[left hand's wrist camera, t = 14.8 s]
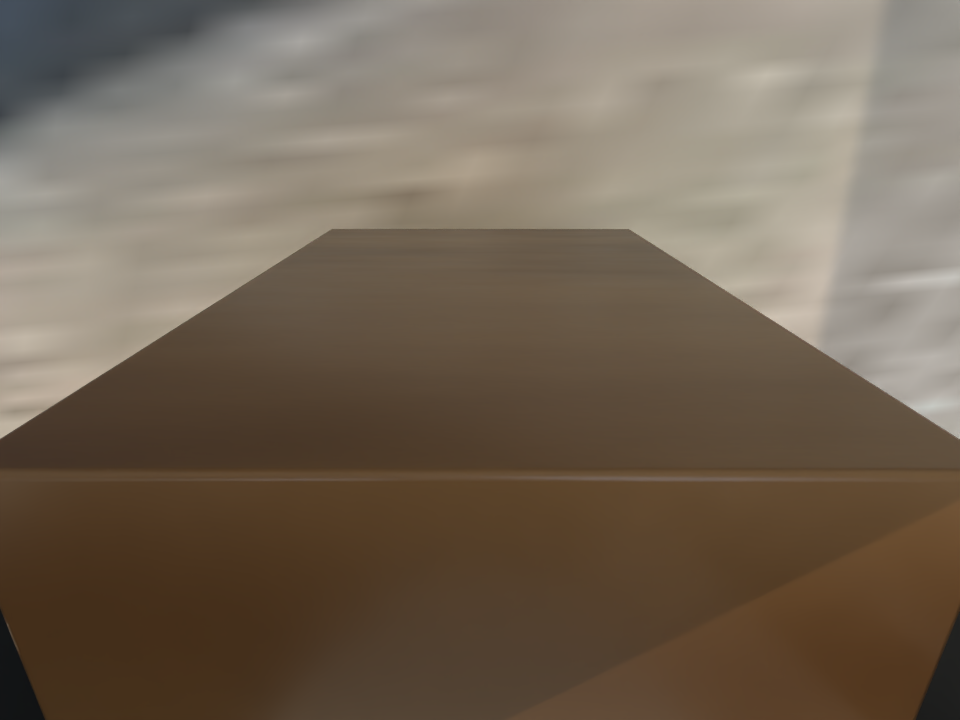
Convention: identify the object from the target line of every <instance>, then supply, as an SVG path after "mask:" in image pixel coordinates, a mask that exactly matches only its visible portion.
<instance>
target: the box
mask: <svg viewBox="0 0 960 720" xmlns="http://www.w3.org/2000/svg"><path fill="white" fill-rule="evenodd" d="M0 609H1V612H2V614H3V617H4V619H5V622H6V624H7V627H8V629H9V632H10V634H11V637H12V639H13V642H14V644H15V647H16V649H17V651H18V654H19V656H20V659H21V661H22V664H23V666H24V669H25V671H26V674H27V676H28V679H29V681H30V684H31V686H32V689H33V691H34V694H35V696H36V698H37V701H38V703H39V706H40V708H41V711H42V713H43V716H44V718H45V720H916V717H917V715H918V712H919V710H920V708H921V705H922V703H923V700H924V698H925V695H926V693H927V690H928V688H929V685H930V683H931V680H932V678H933V676H934V673H935V671H936V668H937V666H938V663H939V661H940V658H941V656H942V653H943V651H944V648H945V646H946V643H947V641H948V639H949V636H950V634H951V631H952V629H953V626H954V624H955V621H956V619H957V616H958V614H959V611H960V439H958V438H957V437H955V436H953V435H952V434H950V433H949V432H947V431H946V430H944V429H942V428H941V427H939V426H938V425H936V424H935V423H933V422H931V421H930V420H928V419H927V418H925V417H924V416H922V415H920V414H919V413H917V412H916V411H914V410H913V409H911V408H909V407H908V406H906V405H905V404H903V403H902V402H900V401H898V400H897V399H895V398H894V397H892V396H891V395H889V394H887V393H886V392H884V391H883V390H881V389H880V388H878V387H876V386H875V385H873V384H872V383H870V382H869V381H867V380H865V379H864V378H862V377H861V376H859V375H857V374H856V373H854V372H853V371H851V370H850V369H848V368H846V367H845V366H843V365H842V364H840V363H839V362H837V361H835V360H834V359H832V358H831V357H829V356H828V355H826V354H824V353H823V352H821V351H820V350H818V349H817V348H815V347H813V346H812V345H810V344H809V343H807V342H806V341H804V340H802V339H801V338H799V337H798V336H796V335H795V334H793V333H791V332H790V331H788V330H787V329H785V328H784V327H782V326H780V325H779V324H777V323H776V322H774V321H773V320H771V319H769V318H768V317H766V316H765V315H763V314H762V313H760V312H758V311H757V310H755V309H754V308H752V307H750V306H749V305H747V304H746V303H744V302H743V301H741V300H739V299H738V298H736V297H735V296H733V295H732V294H730V293H728V292H727V291H725V290H724V289H722V288H721V287H719V286H717V285H716V284H714V283H713V282H711V281H710V280H708V279H706V278H705V277H703V276H702V275H700V274H699V273H697V272H695V271H694V270H692V269H691V268H689V267H688V266H686V265H684V264H683V263H681V262H680V261H678V260H677V259H675V258H673V257H672V256H670V255H669V254H667V253H666V252H664V251H662V250H661V249H659V248H658V247H656V246H655V245H653V244H651V243H650V242H648V241H647V240H645V239H643V238H642V237H640V236H639V235H637V234H636V233H634V232H632V231H631V230H629V229H332V230H330V231H328V232H327V233H325V234H324V235H322V236H320V237H319V238H317V239H316V240H314V241H312V242H311V243H309V244H308V245H306V246H305V247H303V248H301V249H300V250H298V251H297V252H295V253H294V254H292V255H290V256H289V257H287V258H286V259H284V260H282V261H281V262H279V263H278V264H276V265H275V266H273V267H271V268H270V269H268V270H267V271H265V272H263V273H262V274H260V275H259V276H257V277H256V278H254V279H252V280H251V281H249V282H248V283H246V284H244V285H243V286H241V287H240V288H238V289H237V290H235V291H233V292H232V293H230V294H229V295H227V296H226V297H224V298H222V299H221V300H219V301H218V302H216V303H214V304H213V305H211V306H210V307H208V308H207V309H205V310H203V311H202V312H200V313H199V314H197V315H195V316H194V317H192V318H191V319H189V320H188V321H186V322H184V323H183V324H181V325H180V326H178V327H176V328H175V329H173V330H172V331H170V332H169V333H167V334H165V335H164V336H162V337H161V338H159V339H158V340H156V341H154V342H153V343H151V344H150V345H148V346H146V347H145V348H143V349H142V350H140V351H139V352H137V353H135V354H134V355H132V356H131V357H129V358H127V359H126V360H124V361H123V362H121V363H120V364H118V365H116V366H115V367H113V368H112V369H110V370H109V371H107V372H105V373H104V374H102V375H101V376H99V377H97V378H96V379H94V380H93V381H91V382H90V383H88V384H86V385H85V386H83V387H82V388H80V389H78V390H77V391H75V392H74V393H72V394H71V395H69V396H67V397H66V398H64V399H63V400H61V401H59V402H58V403H56V404H55V405H53V406H52V407H50V408H48V409H47V410H45V411H44V412H42V413H41V414H39V415H37V416H36V417H34V418H33V419H31V420H29V421H28V422H26V423H25V424H23V425H22V426H20V427H18V428H17V429H15V430H14V431H12V432H10V433H9V434H7V435H6V436H4V437H3V438H1V439H0Z"/></svg>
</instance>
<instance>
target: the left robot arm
mask: <svg viewBox="0 0 960 720" xmlns="http://www.w3.org/2000/svg"><path fill="white" fill-rule="evenodd" d="M0 720H45V718H44V716H43V713H42V711H41V708H40V706H39V703H38V701H37V698H36V696H35V694H34V691H33V689H32V686H31V684H30V681H29V679H28V676H27V674H26V671H25V669H24V666H23V664H22V661H21V659H20V656H19V654H18V651H17V649H16V647H15V644H14V642H13V639H12V637H11V634H10V632H9V629H8V627H7V624H6V622H5V619H4V617H3V614H2V612H1V609H0ZM916 720H960V611H959V614H958V616H957V619H956V621H955V624H954V626H953V629H952V631H951V634H950V636H949V639H948V641H947V643H946V646H945V648H944V651H943V653H942V656H941V658H940V661H939V663H938V666H937V668H936V671H935V673H934V676H933V678H932V680H931V683H930V685H929V688H928V690H927V693H926V695H925V698H924V700H923V703H922V705H921V708H920V710H919V712H918V715H917V717H916Z"/></svg>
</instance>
